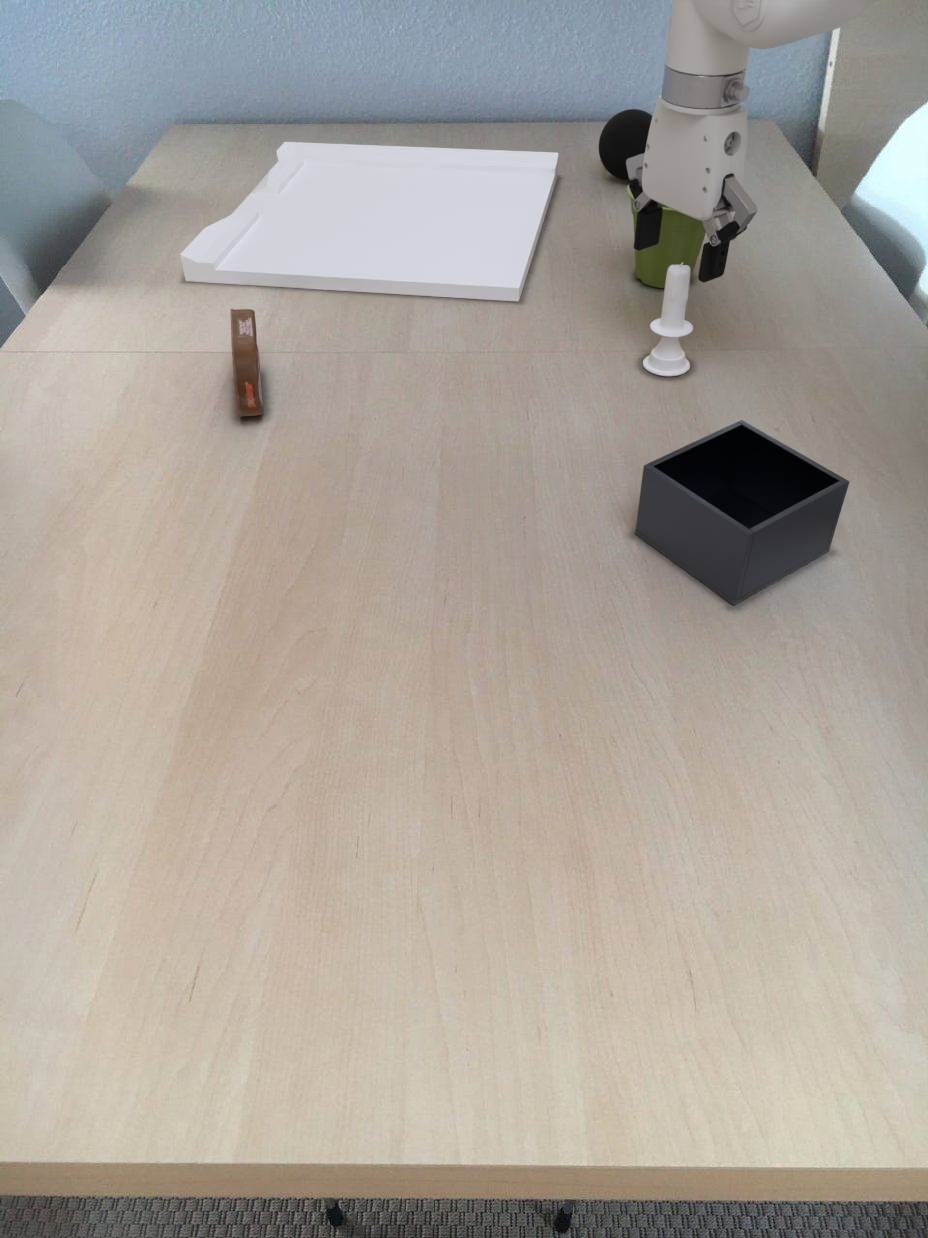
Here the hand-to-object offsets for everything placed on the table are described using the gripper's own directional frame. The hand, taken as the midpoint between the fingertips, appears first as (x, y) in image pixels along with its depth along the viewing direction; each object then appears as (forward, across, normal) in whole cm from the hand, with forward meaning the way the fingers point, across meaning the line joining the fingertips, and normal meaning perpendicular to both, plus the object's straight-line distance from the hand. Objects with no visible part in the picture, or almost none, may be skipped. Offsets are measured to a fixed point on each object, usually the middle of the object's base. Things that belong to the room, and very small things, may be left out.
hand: (677, 262), depth 105 cm
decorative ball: (+13, +46, -37) cm, 61 cm away
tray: (+13, +54, +3) cm, 56 cm away
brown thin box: (+13, +22, +41) cm, 48 cm away
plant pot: (+12, +16, -16) cm, 26 cm away
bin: (+12, -28, +18) cm, 35 cm away
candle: (+12, 0, 0) cm, 12 cm away
